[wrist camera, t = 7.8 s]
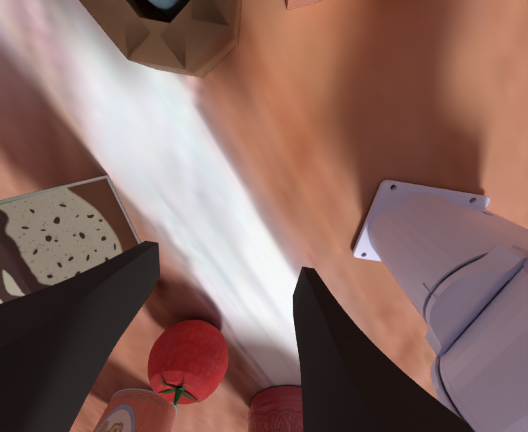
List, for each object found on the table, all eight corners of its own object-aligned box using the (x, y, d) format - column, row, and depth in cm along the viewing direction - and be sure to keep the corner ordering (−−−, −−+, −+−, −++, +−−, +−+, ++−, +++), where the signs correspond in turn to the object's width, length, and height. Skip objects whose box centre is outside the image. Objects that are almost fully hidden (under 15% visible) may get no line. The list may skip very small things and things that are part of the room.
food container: (37, 168, 19) (-169, 220, 10) (100, 157, 19) (-61, 203, 10) (103, 275, 25) (6, 371, 16) (154, 270, 24) (83, 366, 15)
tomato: (157, 305, 26) (115, 378, 19) (229, 305, 26) (213, 380, 19) (173, 350, 30) (143, 425, 23) (236, 351, 30) (225, 428, 23)
